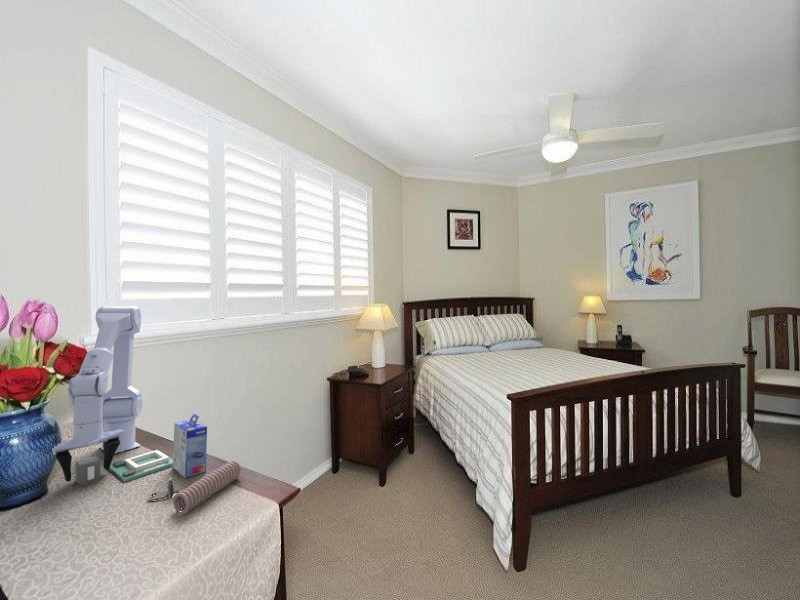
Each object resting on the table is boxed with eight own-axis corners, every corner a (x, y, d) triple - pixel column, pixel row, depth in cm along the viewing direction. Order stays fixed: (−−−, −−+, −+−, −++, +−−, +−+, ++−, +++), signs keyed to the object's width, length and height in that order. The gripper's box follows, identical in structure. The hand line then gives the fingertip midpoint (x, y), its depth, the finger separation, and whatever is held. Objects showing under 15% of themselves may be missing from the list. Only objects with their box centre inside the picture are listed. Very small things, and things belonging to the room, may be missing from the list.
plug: (75, 481, 91) (75, 461, 91) (95, 474, 94) (95, 455, 94) (80, 486, 88) (80, 466, 88) (101, 479, 92) (101, 460, 92)
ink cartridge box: (207, 471, 96) (208, 417, 96) (185, 479, 92) (185, 422, 92) (193, 460, 103) (194, 410, 103) (172, 467, 99) (172, 414, 99)
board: (106, 468, 98) (107, 460, 98) (156, 453, 108) (156, 446, 108) (124, 482, 90) (124, 474, 90) (176, 464, 100) (176, 457, 100)
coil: (187, 498, 76) (244, 461, 93) (169, 492, 77) (229, 457, 95) (185, 519, 76) (242, 478, 94) (167, 513, 77) (227, 474, 95)
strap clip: (146, 504, 81) (146, 485, 81) (150, 497, 84) (150, 479, 84) (189, 497, 85) (189, 479, 85) (191, 490, 87) (191, 473, 87)
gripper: (53, 432, 83) (53, 491, 83) (128, 416, 95) (127, 467, 95) (46, 426, 87) (45, 482, 87) (118, 411, 99) (118, 460, 99)
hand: (87, 474), depth 92 cm, fingers open, 7 cm apart
